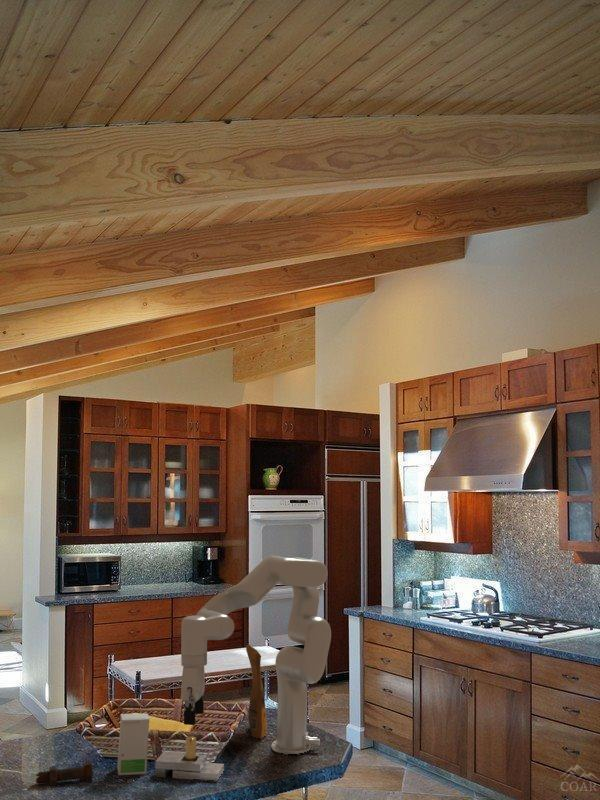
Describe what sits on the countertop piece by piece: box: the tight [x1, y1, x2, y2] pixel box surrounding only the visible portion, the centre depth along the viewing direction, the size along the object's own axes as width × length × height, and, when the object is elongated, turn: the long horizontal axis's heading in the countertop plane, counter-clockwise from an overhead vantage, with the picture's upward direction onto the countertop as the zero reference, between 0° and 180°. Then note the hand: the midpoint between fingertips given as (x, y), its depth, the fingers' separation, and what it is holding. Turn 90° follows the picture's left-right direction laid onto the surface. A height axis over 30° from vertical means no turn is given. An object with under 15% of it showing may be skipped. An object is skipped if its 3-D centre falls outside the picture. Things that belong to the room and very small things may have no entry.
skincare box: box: [116, 712, 150, 776], centre depth 236 cm, size 8×7×16 cm
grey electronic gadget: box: [154, 751, 225, 782], centre depth 235 cm, size 18×8×4 cm, turn 83°
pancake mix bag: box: [245, 643, 268, 740], centre depth 275 cm, size 7×19×28 cm, turn 9°
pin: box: [184, 736, 197, 762], centre depth 235 cm, size 3×3×10 cm
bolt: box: [35, 760, 94, 786], centre depth 226 cm, size 6×5×15 cm
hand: (193, 718), depth 236 cm, fingers open, 9 cm apart
